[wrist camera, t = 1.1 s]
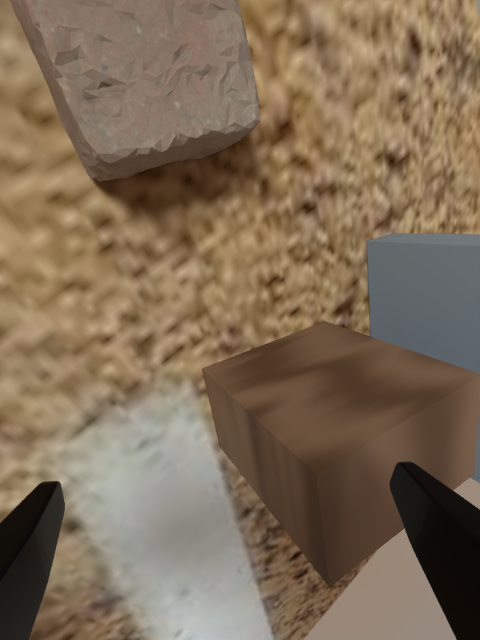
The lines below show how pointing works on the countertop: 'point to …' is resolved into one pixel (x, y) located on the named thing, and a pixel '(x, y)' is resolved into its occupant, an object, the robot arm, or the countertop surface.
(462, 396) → the walnut box
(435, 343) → the slate board
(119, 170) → the brick
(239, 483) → the countertop surface
